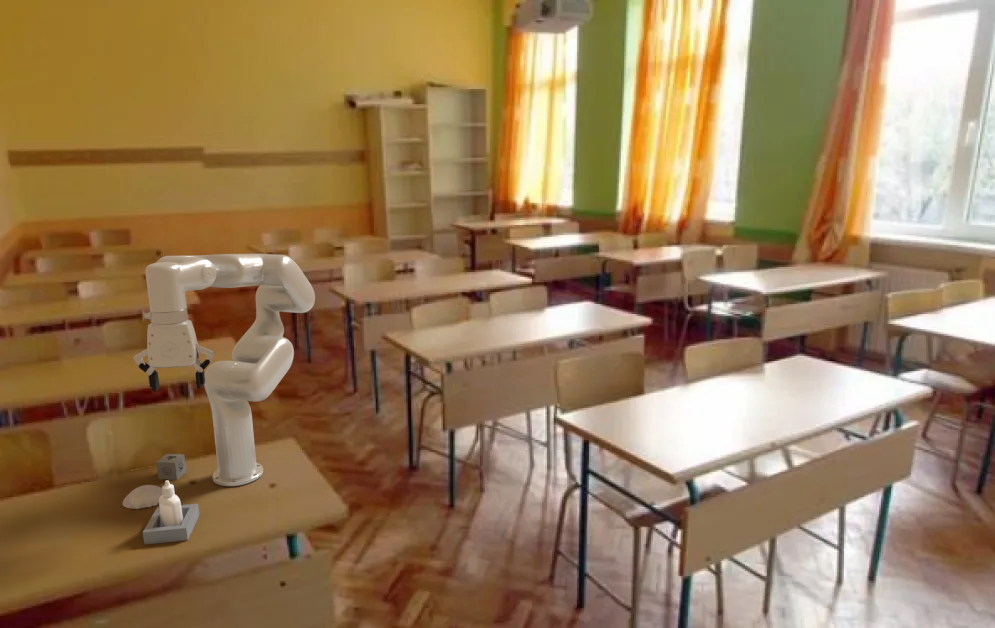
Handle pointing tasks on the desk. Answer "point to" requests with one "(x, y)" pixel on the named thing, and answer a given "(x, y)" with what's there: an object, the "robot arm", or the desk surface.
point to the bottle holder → (171, 533)
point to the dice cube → (171, 466)
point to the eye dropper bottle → (170, 506)
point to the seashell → (143, 497)
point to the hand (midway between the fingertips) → (178, 388)
